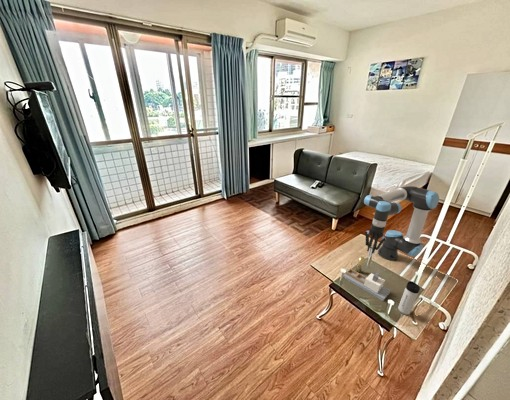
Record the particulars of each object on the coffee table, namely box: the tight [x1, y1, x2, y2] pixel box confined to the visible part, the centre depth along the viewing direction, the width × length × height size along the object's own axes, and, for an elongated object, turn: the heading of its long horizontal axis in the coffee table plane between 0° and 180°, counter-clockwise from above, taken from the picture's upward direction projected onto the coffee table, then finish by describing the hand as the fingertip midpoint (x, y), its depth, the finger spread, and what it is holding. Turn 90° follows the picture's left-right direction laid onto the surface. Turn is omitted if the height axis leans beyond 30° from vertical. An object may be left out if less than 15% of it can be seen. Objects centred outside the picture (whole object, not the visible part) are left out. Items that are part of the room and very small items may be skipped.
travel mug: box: [397, 280, 421, 316], centre depth 129 cm, size 6×7×20 cm
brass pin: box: [355, 256, 365, 273], centre depth 165 cm, size 4×4×12 cm
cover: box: [364, 271, 386, 293], centre depth 147 cm, size 9×9×10 cm
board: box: [342, 268, 391, 302], centre depth 152 cm, size 12×28×6 cm, turn 41°
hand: (369, 256), depth 147 cm, fingers closed
